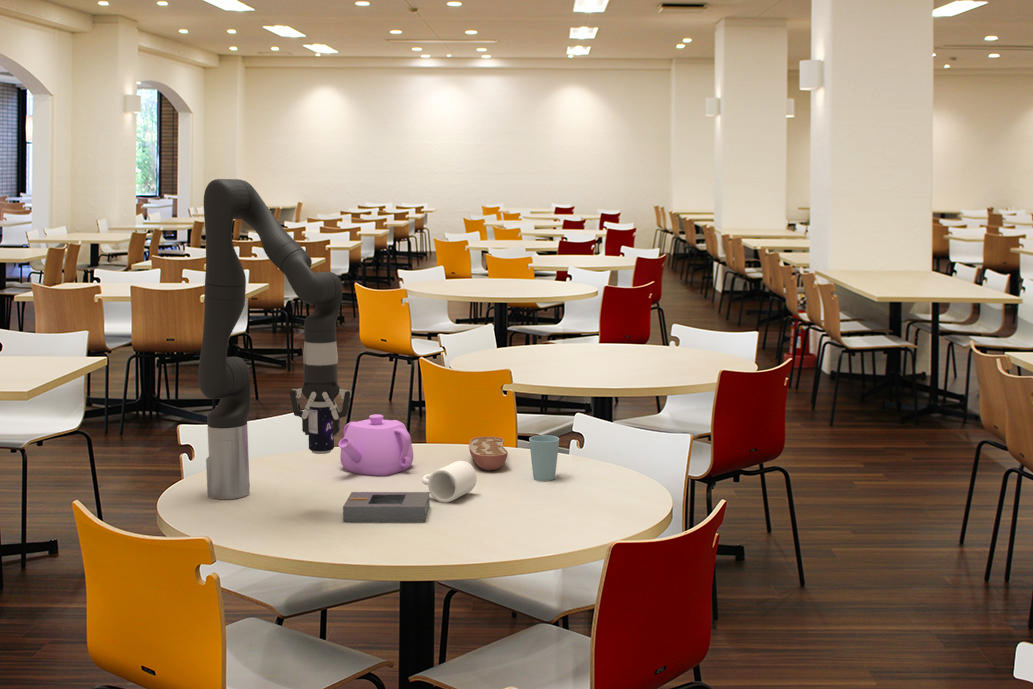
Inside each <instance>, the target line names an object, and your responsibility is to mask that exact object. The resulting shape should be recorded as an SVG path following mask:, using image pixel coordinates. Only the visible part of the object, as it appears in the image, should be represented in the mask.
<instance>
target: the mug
mask: <svg viewBox="0 0 1033 689" xmlns="http://www.w3.org/2000/svg"><path fill="white" fill-rule="evenodd" d="M477 479H478V478H477V473H476V470H475V468H474V467H473V466H472V464H470V463H469V462H467V461H464V460H456V461H454V462H452V463H450V464H447V465H445V466H443V467H441V468H439V469H436V470H435V471H434V472H432V473H427V474H424V475H423V476H422V478H421V483H422V484H424V485H426V486H428V492H430V495H431V496H432V497H433V499H434V500H436V501H437V502H440V503H442V502H443V504H445V503H446V504H448V503H450V502H453V501H454V500H456V499H459V498H460V497H462V496H463V495H466V494H468V493H470V492H472V490H474V488H475V487H476V485H477V481H478V480H477Z"/></svg>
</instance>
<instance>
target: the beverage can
mask: <svg viewBox="0 0 1033 689" xmlns="http://www.w3.org/2000/svg"><path fill="white" fill-rule="evenodd" d="M328 402H329V401H328ZM330 406H331V405H330ZM332 420H333V416H332V411H330V407H329V405H328V404H327V402H313V401H312V404H311V405H310V407H309V414H308V429H309V435H308V450H310V451H311V453H312V454H315V455H326V454H329V453H331V452H332V451H333V450H335V436H333V431H332Z"/></svg>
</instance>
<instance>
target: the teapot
mask: <svg viewBox="0 0 1033 689" xmlns="http://www.w3.org/2000/svg"><path fill="white" fill-rule="evenodd" d="M337 445H338V447H339V449H340V454H339V455H340V456H339V458H340V463H341V465H342V467H343V469H344V470H345V471H347V472H350V473H354V474H359V475H365V476H376V477H382V476H383V477H384V476H391V475H394V474H397V473H401V472H403V471H406V470H408V469H409V468H410V467H411V466H412V464H413V461H414V450H413V449H414V448H413V443H412V438H411V434H410V433H409V431H408V429H407V428H406V425H405V424H404V423H403V422H401V421H399V420H398V419H397V420H396V419H393V420H391V419H384V415H383V414H371V415H369V416H368V419H364V420H359V421H350V422H348V423H347V424H345V426H344V427H343V437H342V438H341V439H340V440H339V441H338V444H337Z"/></svg>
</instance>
